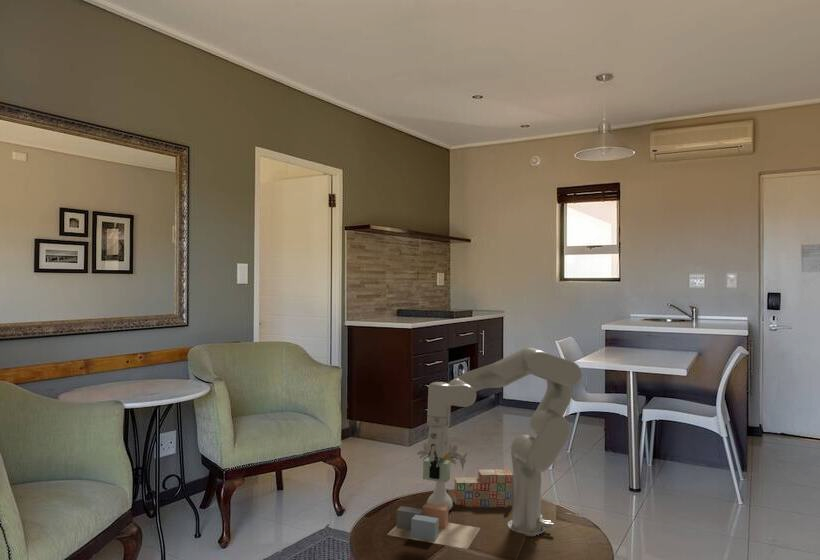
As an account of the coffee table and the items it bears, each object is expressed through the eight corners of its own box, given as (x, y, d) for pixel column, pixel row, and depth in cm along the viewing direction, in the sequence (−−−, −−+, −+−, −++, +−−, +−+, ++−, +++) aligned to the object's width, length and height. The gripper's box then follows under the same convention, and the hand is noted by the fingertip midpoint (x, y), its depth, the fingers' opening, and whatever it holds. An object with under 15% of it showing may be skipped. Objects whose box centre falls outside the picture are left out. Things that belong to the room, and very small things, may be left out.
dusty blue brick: (438, 536, 193) (438, 518, 193) (434, 541, 189) (435, 522, 189) (415, 532, 196) (415, 514, 196) (411, 537, 192) (411, 518, 192)
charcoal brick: (423, 527, 200) (423, 509, 200) (419, 532, 196) (419, 513, 196) (400, 523, 203) (401, 505, 203) (396, 528, 199) (396, 510, 199)
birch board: (480, 530, 200) (480, 527, 200) (467, 552, 185) (467, 549, 185) (405, 518, 210) (405, 515, 210) (386, 537, 194) (386, 534, 194)
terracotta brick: (448, 523, 203) (448, 506, 203) (444, 528, 200) (445, 510, 200) (426, 520, 206) (426, 502, 206) (422, 524, 202) (422, 506, 202)
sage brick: (449, 479, 196) (450, 460, 196) (446, 482, 192) (447, 464, 192) (426, 475, 199) (427, 457, 199) (422, 479, 195) (423, 460, 195)
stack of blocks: (456, 507, 221) (456, 474, 221) (453, 501, 227) (454, 469, 227) (513, 507, 222) (513, 474, 222) (509, 501, 228) (510, 469, 228)
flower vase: (469, 519, 210) (470, 448, 210) (417, 519, 209) (418, 448, 209) (464, 505, 223) (465, 438, 223) (415, 505, 222) (416, 438, 222)
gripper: (442, 427, 187) (440, 485, 186) (456, 416, 202) (453, 470, 202) (419, 424, 189) (417, 482, 189) (434, 414, 205) (432, 467, 205)
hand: (436, 475), depth 196 cm, fingers closed on sage brick, 4 cm apart
